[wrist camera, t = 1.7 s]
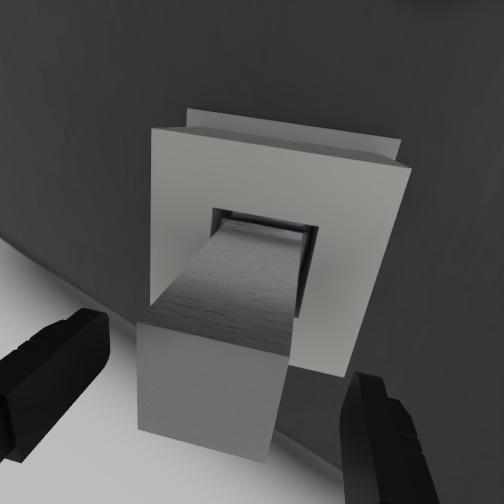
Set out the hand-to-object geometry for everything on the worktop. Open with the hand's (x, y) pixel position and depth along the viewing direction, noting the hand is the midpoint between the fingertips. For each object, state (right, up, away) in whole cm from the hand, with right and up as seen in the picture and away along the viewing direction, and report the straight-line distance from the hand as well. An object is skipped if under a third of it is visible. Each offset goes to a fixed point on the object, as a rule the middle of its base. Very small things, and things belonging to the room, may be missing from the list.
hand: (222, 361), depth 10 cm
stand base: (+3, +6, +14) cm, 15 cm away
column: (+2, +5, +13) cm, 15 cm away
